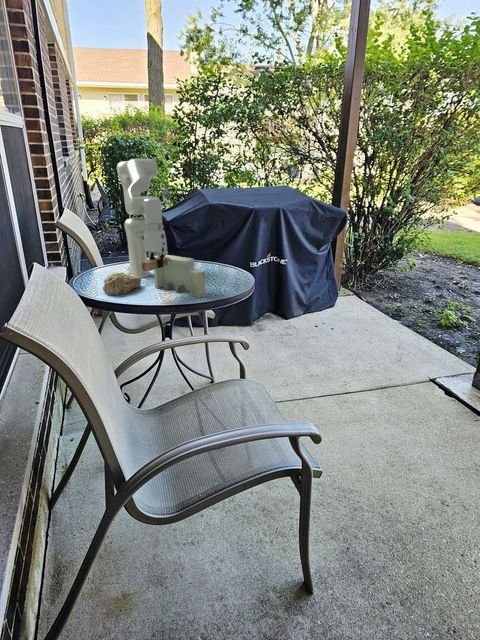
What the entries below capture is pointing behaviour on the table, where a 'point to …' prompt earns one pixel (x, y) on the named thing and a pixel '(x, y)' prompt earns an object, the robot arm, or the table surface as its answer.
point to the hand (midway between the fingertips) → (156, 266)
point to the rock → (120, 283)
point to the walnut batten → (155, 264)
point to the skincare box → (197, 283)
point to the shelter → (174, 274)
